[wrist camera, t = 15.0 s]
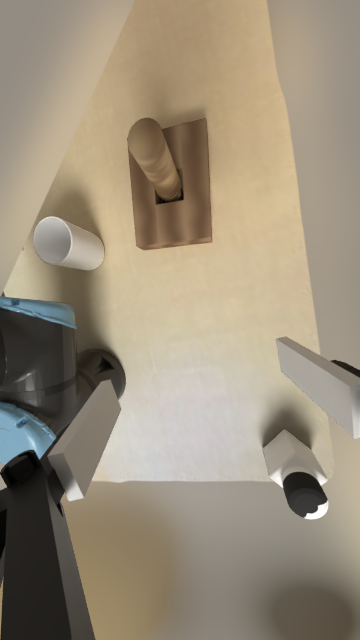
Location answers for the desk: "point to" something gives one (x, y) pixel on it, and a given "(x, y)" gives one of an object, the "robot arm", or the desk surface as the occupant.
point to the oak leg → (155, 159)
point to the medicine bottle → (297, 475)
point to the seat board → (181, 216)
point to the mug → (67, 244)
